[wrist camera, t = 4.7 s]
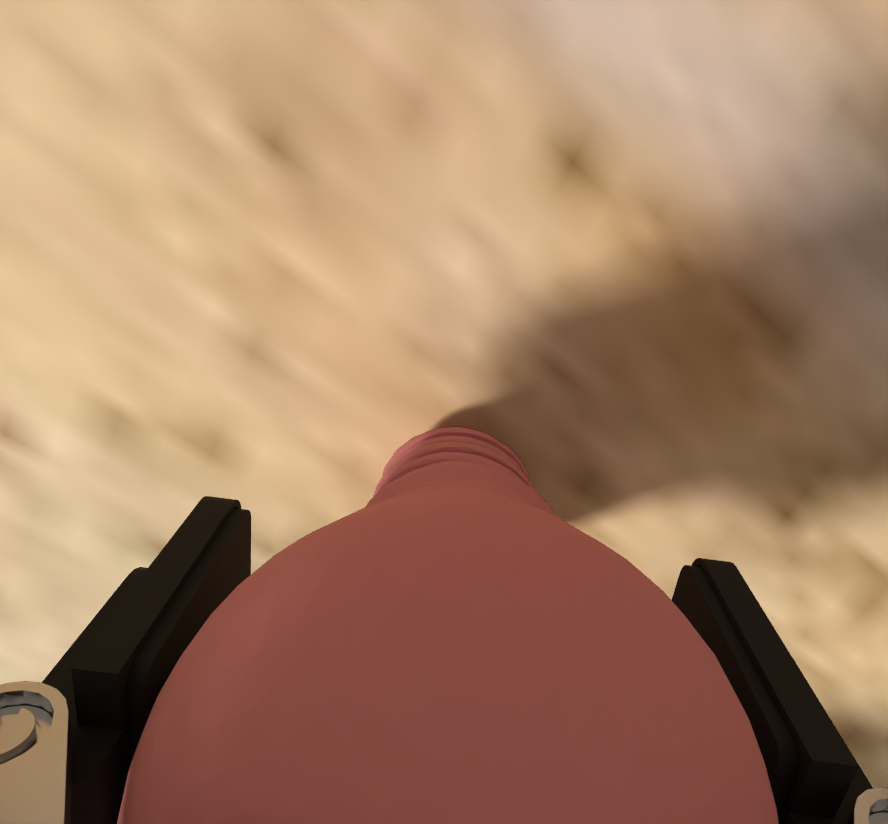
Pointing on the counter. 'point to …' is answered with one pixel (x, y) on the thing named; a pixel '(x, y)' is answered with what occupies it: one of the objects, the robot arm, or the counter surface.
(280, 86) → the counter surface
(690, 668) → the pink rounded bulb shape
